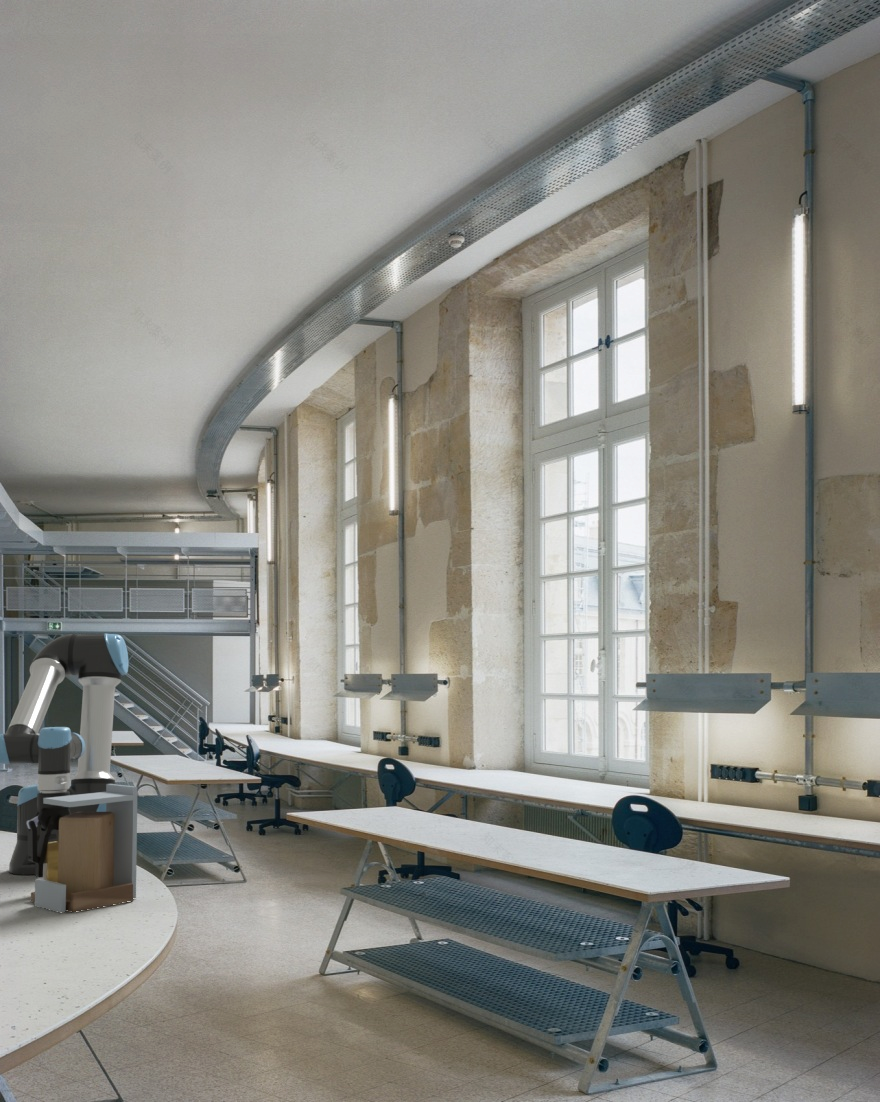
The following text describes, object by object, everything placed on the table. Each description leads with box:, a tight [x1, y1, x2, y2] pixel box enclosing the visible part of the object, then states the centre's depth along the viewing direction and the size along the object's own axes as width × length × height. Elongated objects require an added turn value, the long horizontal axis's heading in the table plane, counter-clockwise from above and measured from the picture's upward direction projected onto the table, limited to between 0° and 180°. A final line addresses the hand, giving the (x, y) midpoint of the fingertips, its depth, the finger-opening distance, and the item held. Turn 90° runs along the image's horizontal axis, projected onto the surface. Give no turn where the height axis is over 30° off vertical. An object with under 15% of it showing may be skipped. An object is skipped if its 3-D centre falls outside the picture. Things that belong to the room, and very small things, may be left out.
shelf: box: [34, 783, 138, 913], centre depth 258 cm, size 12×19×26 cm, turn 138°
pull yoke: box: [30, 841, 134, 913], centre depth 261 cm, size 26×15×12 cm, turn 47°
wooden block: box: [58, 812, 114, 900], centre depth 258 cm, size 10×10×20 cm
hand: (51, 888), depth 268 cm, fingers closed on pull yoke, 4 cm apart
